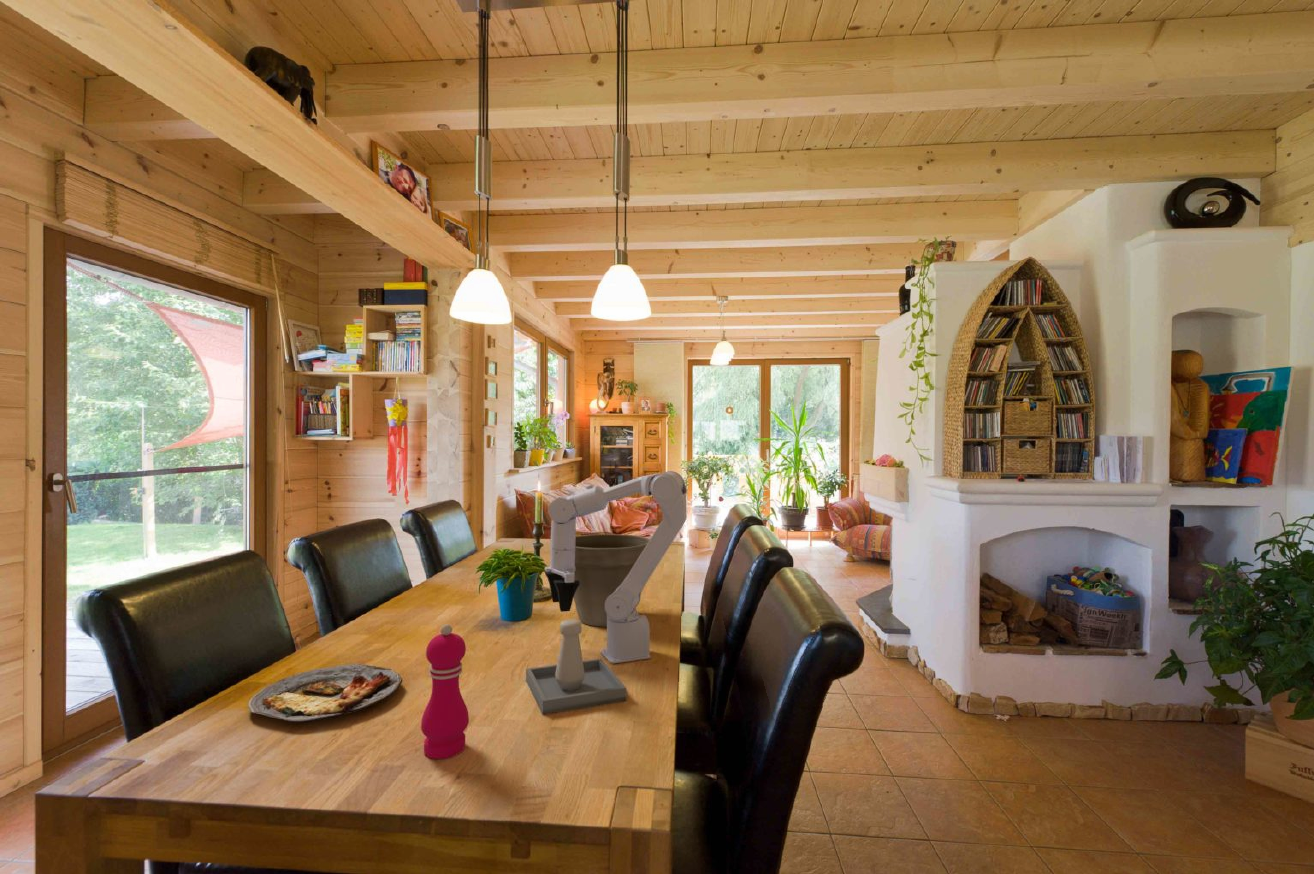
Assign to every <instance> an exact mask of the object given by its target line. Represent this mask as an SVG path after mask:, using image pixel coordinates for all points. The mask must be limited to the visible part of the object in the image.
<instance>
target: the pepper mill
mask: <svg viewBox="0 0 1314 874" xmlns="http://www.w3.org/2000/svg"><path fill="white" fill-rule="evenodd" d="M466 646H467V645H466V642H465V640H464V639H463V637H462V636H461V635H459V634H456V633H454V632H453V627H452V626H451V625H450V624H448V623H447V624H444V625H442V626H441V627H440V633H439V634H437V635H435V636H433V638H431V639H430V641H429V642H428V643H427V646H426V650H425V656H426V659H427V661H428V662H429V664H430V665H429V667H428V668H429V673H428V675H429V677H430V678H431V684H432V687H431V695H430V698H429V700H428V703H427V705H426V707H425V709H424V711H423V714H422V717H421V723H420V731H421V732H422V734H423V735H424V736H425V738H424V741H423V753H424V755H425V756H426V757H427V758H430V759H434V760H443V759H449V758H452V757H455V756H457V755H459V754H460V753H462V752H463V751H464V750H465V748H466V733H465V730H466V729H467V728H468V725H469V719H470V718H469V711H468V707H467V705H466V701H464V698H463V696H462V693H461V690H460V675H461V674H462V673H463V663H462V659H464V657H465V655H466V651H467V647H466Z"/></svg>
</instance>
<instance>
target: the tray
mask: <svg viewBox="0 0 1314 874" xmlns="http://www.w3.org/2000/svg"><path fill="white" fill-rule="evenodd" d="M583 666H584V672H585V677H584V679H583V681H582V683H581V685H580V687H579V689H577V690H573V691H564V690H561V688H560V686H559V684H558V682H557V680H556V677H555V673H556V668H557V664H550V665H543V666H536V667H530V668H529V667H528V668H526V669H525V682H526V684H527V686H528V687H529V691H530V692H531V694H532V697H533V698H534V700H535V702H536V704H537V706H538V709H539V710H540V713H541V715H542V716H543V715H544V716H545V715H549V714H550V715H551V714H556V713H561V712H568V711H574V710H580V709H585V708H591V707H593V708H594V707H599V706H604V705H610V704H615V703H621V702H626V701H627V687H626V686H625V684H624V683H623V682H622V681H621V679H620V678H619V677H618V676H617V675H616V674H615V673H614V672H613V670H612V669H611V668H610V667H609V666H608V665H607V663H606V662H605V661H604V659H602V658H601V657H600V658H595V659H588V660H583Z"/></svg>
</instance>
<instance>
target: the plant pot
mask: <svg viewBox="0 0 1314 874" xmlns="http://www.w3.org/2000/svg"><path fill="white" fill-rule="evenodd" d="M650 539H651V538H648V537H644V536H639V535H631V534H618V533H617V534H616V533H600V534H584V535H576V539H575V572H574V580H578V581H579V582H580V584H579V586H578V588H577V590H576V592H575V594H574V597H573V601H574V605H575V608H576V613H577V617H578V619H579V620H578V621H580V622H581V623H583V624H585V625H589V626H594V627H607V613H606V611H605V601H606V599H607V597H608V596H609V595H611V594H612V593H613V592H614V591H615V590H616V589H617V588H618V587H619V586H620V585H621V584H622V582H623V581H624V579H625V578H626V577H627V575H628V574H629V572H630V571H631V569H632V567H633V566H634V564H635V563H636V561H637V559H638V558H639V556H640V555H641V553H642V551H643V550H644V548H645V547H646V545H647V543H648V542H649V540H650Z"/></svg>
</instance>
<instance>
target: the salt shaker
mask: <svg viewBox="0 0 1314 874" xmlns="http://www.w3.org/2000/svg"><path fill="white" fill-rule="evenodd" d="M582 628H583V626H582V622H581V621H580V620H578V619H574V618H573V619H572V618H571V619H570V618H569V619H565V620H563V621H561V623H560V625H559V632H560V633H559V634H561V635H562V637H561V643H560V648H559V652H558V658H557V663H556V665H557V668H556V673H555V677H556V680H557V682H558V684H559V686H560V688H561V690H564V691H573V690H577V689H579V687H580V685H581V683H582V681H583V679H584V677H585V672H584V666H583V661H584V660H583V654H582V647H581V646H582V645H581V641H580V634H581V633H582Z"/></svg>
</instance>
